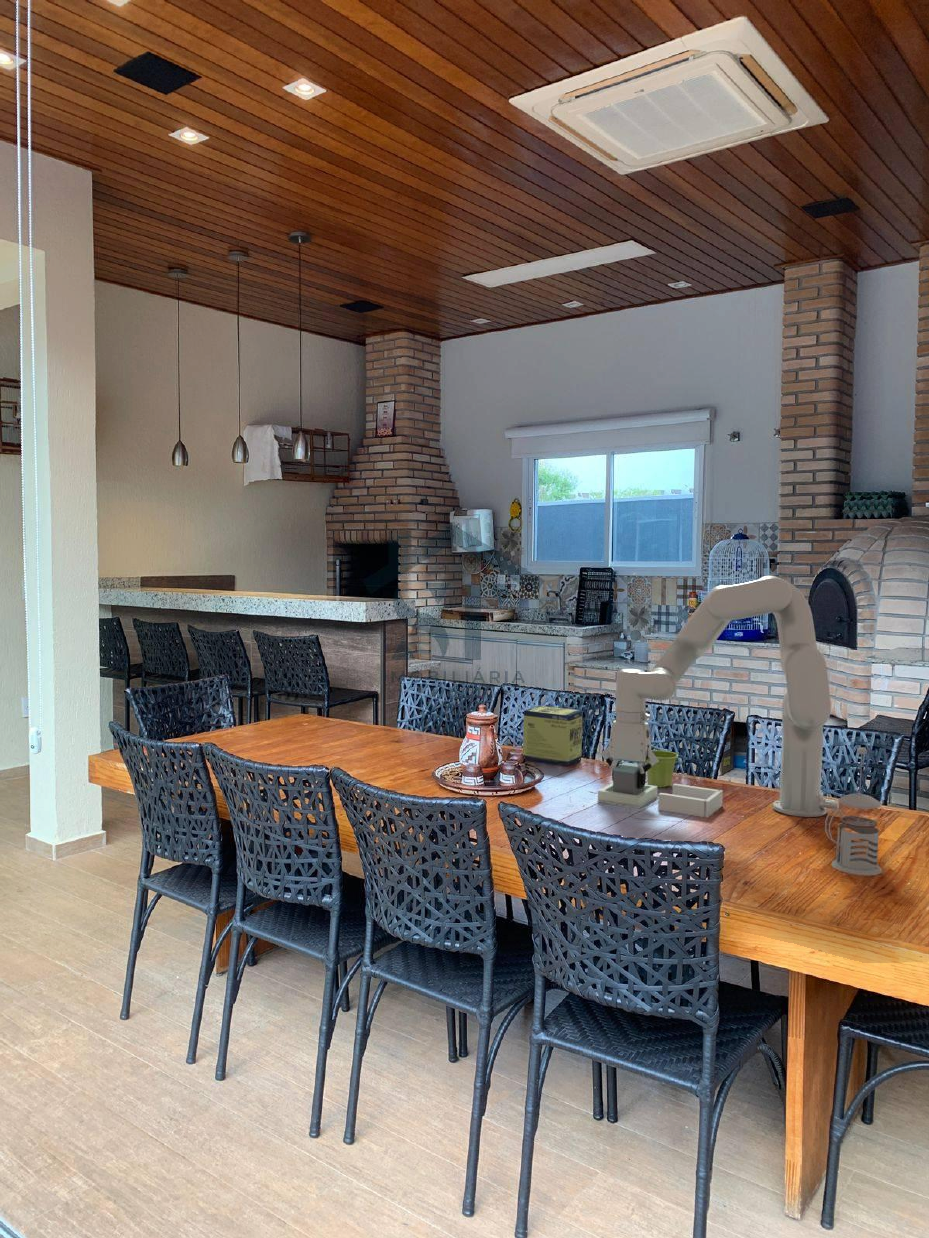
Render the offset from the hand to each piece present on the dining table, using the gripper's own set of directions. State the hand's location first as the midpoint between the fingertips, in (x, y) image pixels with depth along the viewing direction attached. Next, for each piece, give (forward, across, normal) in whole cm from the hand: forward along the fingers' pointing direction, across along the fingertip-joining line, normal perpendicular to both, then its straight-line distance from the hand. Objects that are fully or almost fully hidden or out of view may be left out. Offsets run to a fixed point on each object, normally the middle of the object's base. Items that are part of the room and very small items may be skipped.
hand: (628, 785), depth 242 cm
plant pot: (+4, -2, -19) cm, 19 cm away
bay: (+4, -16, -1) cm, 17 cm away
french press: (+4, -58, +24) cm, 63 cm away
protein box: (+4, +36, -30) cm, 47 cm away
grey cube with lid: (+2, 0, 0) cm, 2 cm away
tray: (+4, 0, 0) cm, 4 cm away
